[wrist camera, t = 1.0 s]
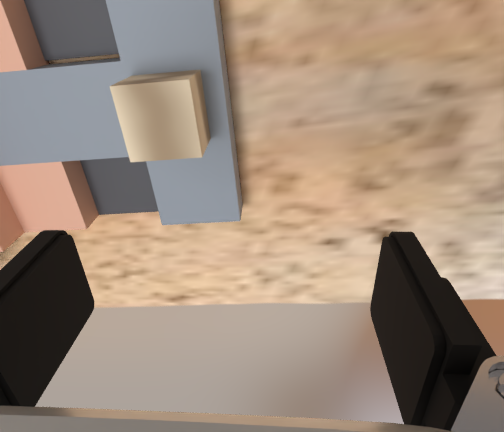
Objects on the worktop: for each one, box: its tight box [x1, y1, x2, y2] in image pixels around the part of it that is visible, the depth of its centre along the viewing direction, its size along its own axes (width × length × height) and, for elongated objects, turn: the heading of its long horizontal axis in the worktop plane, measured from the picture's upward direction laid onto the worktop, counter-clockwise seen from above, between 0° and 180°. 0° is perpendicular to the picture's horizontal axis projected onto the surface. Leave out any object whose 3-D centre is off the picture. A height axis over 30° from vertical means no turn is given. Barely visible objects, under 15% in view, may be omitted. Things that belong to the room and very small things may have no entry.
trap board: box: [0, 0, 243, 252], centre depth 27 cm, size 21×20×6 cm
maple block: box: [110, 70, 211, 162], centre depth 25 cm, size 5×5×4 cm
